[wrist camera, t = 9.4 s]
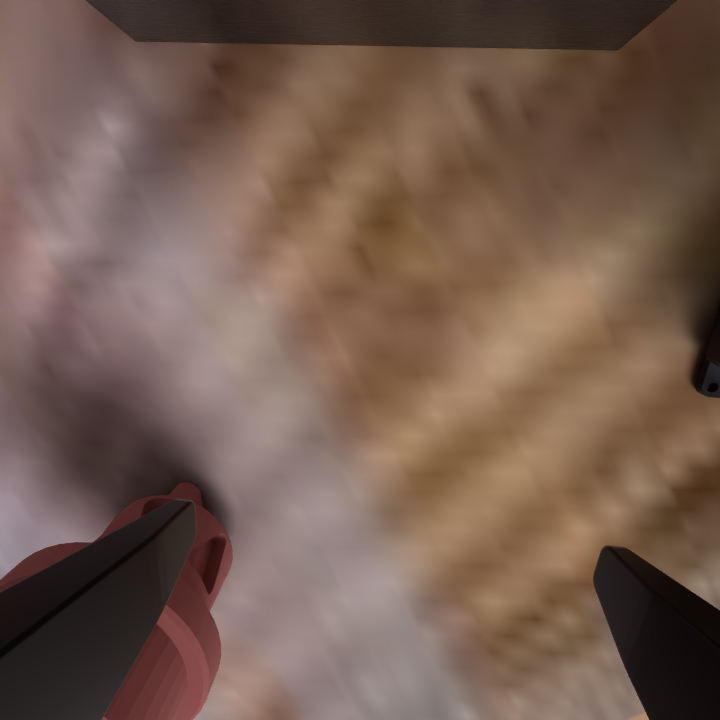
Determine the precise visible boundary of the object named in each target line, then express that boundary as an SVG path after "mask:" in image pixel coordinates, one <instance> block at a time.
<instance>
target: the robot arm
mask: <svg viewBox="0 0 720 720" xmlns="http://www.w3.org/2000/svg"><path fill="white" fill-rule="evenodd" d="M711 383H712V385H711V387H710V388H708V389H707V387H708V385H709V384H711ZM695 388H696V391H697V392H699V393H700V394H702V395H704V396H707V397H716V398H720V308H719V311H718V314H717V318H716V321H715V324H714V327H713V330H712V333H711V337H710V340H709V343H708V346H707V349H706V353H705V356H704V359H703V362H702V365H701V368H700V372H699V375H698V378H697V381H696V385H695ZM196 533H197V527H196V511H195V504H194V502H193V501H191V500H183V499H174V500H172V501H170V502H168V503H166V504H164V505H163V506H161V507H159V508H157V509H155V510H153V511H151V512H149V513H148V514H146V515H144V516H142V517H140V518H138V519H136V520H134V521H133V522H131V523H129V524H127V525H125V526H123V527H121V528H119V529H118V530H116V531H114V532H112V533H110V534H108V535H106V536H105V537H103V538H101V539H99V540H97V541H95V542H93V543H91V544H90V545H88V546H86V547H84V548H82V549H80V550H78V551H76V552H75V553H73V554H71V555H69V556H67V557H65V558H63V559H61V560H60V561H58V562H56V563H54V564H52V565H50V566H48V567H46V568H45V569H43V570H41V571H39V572H37V573H35V574H33V575H31V576H30V577H28V578H26V579H24V580H22V581H20V582H18V583H16V584H15V585H13V586H11V587H9V588H7V589H5V590H3V591H1V592H0V720H102V719H103V717H104V715H105V713H106V712H107V710H108V708H109V706H110V704H111V703H112V701H113V699H114V697H115V696H116V694H117V692H118V690H119V689H120V687H121V685H122V683H123V682H124V680H125V678H126V676H127V674H128V673H129V671H130V669H131V667H132V666H133V664H134V662H135V660H136V659H137V657H138V655H139V653H140V652H141V650H142V648H143V646H144V644H145V643H146V641H147V639H148V637H149V636H150V634H151V632H152V630H153V629H154V627H155V625H156V623H157V621H158V620H159V618H160V616H161V614H162V612H163V610H164V608H165V606H166V604H167V602H168V600H169V598H170V595H171V593H172V591H173V589H174V586H175V584H176V582H177V580H178V577H179V575H180V573H181V571H182V568H183V566H184V564H185V562H186V560H187V557H188V555H189V553H190V551H191V548H192V546H193V544H194V541H195V538H196ZM593 582H594V587H595V590H596V593H597V595H598V598H599V601H600V603H601V606H602V609H603V611H604V614H605V617H606V619H607V622H608V625H609V627H610V630H611V633H612V635H613V638H614V641H615V644H616V646H617V649H618V652H619V654H620V657H621V659H622V662H623V664H624V666H625V669H626V671H627V673H628V675H629V678H630V680H631V682H632V684H633V686H634V688H635V690H636V693H637V695H638V697H639V699H640V701H641V703H642V705H643V707H644V709H645V712H646V714H647V716H648V718H649V720H720V610H718V609H717V608H715V607H714V606H712V605H711V604H709V603H708V602H706V601H705V600H703V599H702V598H700V597H699V596H697V595H696V594H694V593H693V592H691V591H690V590H688V589H687V588H685V587H684V586H683V585H681V584H680V583H678V582H677V581H675V580H674V579H672V578H671V577H669V576H668V575H666V574H665V573H663V572H662V571H660V570H659V569H657V568H656V567H654V566H653V565H651V564H650V563H648V562H647V561H645V560H644V559H642V558H641V557H639V556H638V555H636V554H635V553H633V552H632V551H630V550H629V549H627V548H625V547H618V546H609V545H608V546H604V547H603V548H602V550H601V552H600V556H599V559H598V562H597V565H596V568H595V571H594V576H593Z"/></svg>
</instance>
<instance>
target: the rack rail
mask: <svg viewBox="0 0 720 720" xmlns="http://www.w3.org/2000/svg"><path fill="white" fill-rule="evenodd" d="M86 1H87V2H88V3H90V4H91V5H92V6H93V7H94V8H96V9H97V10H98V11H99V12H101V13H102V14H103V15H104V16H105V17H107V18H108V19H109V20H110V21H112V22H113V23H114V24H115V25H116V26H118V27H119V28H120V29H121V30H123V31H124V32H125V33H126V34H127V35H129V36H130V37H131V38H132V39H134V40H135V41H150V42H204V43H258V44H312V45H366V46H420V47H474V48H528V49H582V50H619V49H620V48H621V47H622V46H624V45H625V44H626V43H627V42H628V41H630V40H631V39H632V38H633V37H634V36H635V35H637V34H638V33H639V32H640V31H641V30H643V29H644V28H645V27H646V26H647V25H649V24H650V23H651V22H652V21H653V20H654V19H656V18H657V17H658V16H659V15H660V14H662V13H663V12H664V11H665V10H666V9H668V8H669V7H670V6H671V5H672V4H673V3H675V2H676V1H677V0H86Z"/></svg>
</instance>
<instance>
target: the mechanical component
mask: <svg viewBox="0 0 720 720" xmlns="http://www.w3.org/2000/svg"><path fill="white" fill-rule="evenodd" d="M174 499H183V500H191V501H193V502H194V504H195V511H196V527H197V533H196V538H195V541H194V544H193V546H192V548H191V551H190V553H189V555H188V557H187V560H186V562H185V564H184V566H183V568H182V571H181V573H180V575H179V577H178V580H177V582H176V584H175V586H174V589H173V591H172V593H171V595H170V598H169V600H168V602H167V604H166V606H165V608H164V610H163V612H162V614H161V616H160V618H159V620H158V621H157V623H156V625H155V627H154V629H153V630H152V632H151V634H150V636H149V637H148V639H147V641H146V643H145V644H144V646H143V648H142V650H141V652H140V653H139V655H138V657H137V659H136V660H135V662H134V664H133V666H132V667H131V669H130V671H129V673H128V674H127V676H126V678H125V680H124V682H123V683H122V685H121V687H120V689H119V690H118V692H117V694H116V696H115V697H114V699H113V701H112V703H111V704H110V706H109V708H108V710H107V712H106V713H105V715H104V717H103V719H102V720H193V719H194V718H195V717H196V716H197V714H198V713H199V712H200V711H201V709H202V707H203V705H204V703H205V701H206V699H207V696H208V694H209V691H210V688H211V686H212V683H213V681H214V678H215V676H216V673H217V671H218V668H219V664H220V658H221V643H220V637H219V632H218V629H217V627H216V624H215V621H214V619H213V617H212V615H211V614H210V609H211V607H212V605H213V603H214V601H215V599H216V597H217V595H218V593H219V591H220V589H221V587H222V584H223V582H224V580H225V578H226V576H227V574H228V572H229V570H230V567H231V564H232V559H233V557H232V546H231V542H230V539H229V537H228V534H227V532H226V531H225V529H224V528H223V526H222V525H221V523H220V522H219V521H218V520H217V519H216V518H215V517H214V516H213V515H212V514H211V513H209V512H208V511H207V510H206V509H204V508H203V505H202V497H201V492H200V491H199V489H198V488H197V487H196V486H195V485H193V484H191V483H186V482H184V483H180V484H178V485H177V486H176V487H175V488H174V489H173V490H172V492H171V493H170V494H169V495H153V496H148V497H143V498H141V499H138V500H136V501H134V502H132V503H131V504H129V505H128V506H127V507H126V508H125V509H124V510H123V511H122V512H120V513H119V514H118V516H117V517H116V518H115V519H114V520H113V521H112V522H111V524H110V525H109V526H108V527H107V529H106V530H105V531H104V533H103V534H102V535H101V536H100V537H99V538H98V539H97V540H99V539H101V538H103V537H105V536H106V535H108V534H110V533H112V532H114V531H116V530H118V529H119V528H121V527H123V526H125V525H127V524H129V523H131V522H133V521H134V520H136V519H138V518H140V517H142V516H144V515H146V514H148V513H149V512H151V511H153V510H155V509H157V508H159V507H161V506H163V505H164V504H166V503H168V502H170V501H172V500H174ZM97 540H95V541H97ZM95 541H94V542H95ZM90 544H91V543H83V542H75V543H66V544H59V545H55V546H51V547H47V548H44V549H42V550H40V551H38V552H35V553H33V554H32V555H30V556H29V557H27V558H26V559H24V560H23V561H22V562H20V563H19V564H18V565H17V566H16V567H15V568H14V569H12V570H11V571H10V572H9V573H8V574H7V575H6V576H4V577H3V578H2V579H1V580H0V592H1V591H3V590H5V589H7V588H9V587H11V586H13V585H15V584H16V583H18V582H20V581H22V580H24V579H26V578H28V577H30V576H31V575H33V574H35V573H37V572H39V571H41V570H43V569H45V568H46V567H48V566H50V565H52V564H54V563H56V562H58V561H60V560H61V559H63V558H65V557H67V556H69V555H71V554H73V553H75V552H76V551H78V550H80V549H82V548H84V547H86V546H88V545H90Z"/></svg>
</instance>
